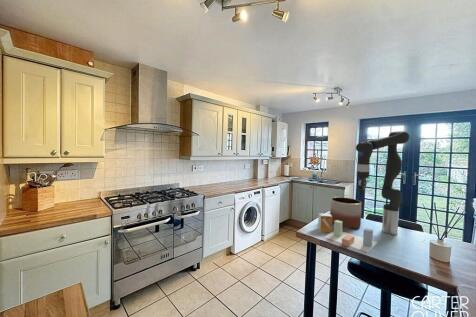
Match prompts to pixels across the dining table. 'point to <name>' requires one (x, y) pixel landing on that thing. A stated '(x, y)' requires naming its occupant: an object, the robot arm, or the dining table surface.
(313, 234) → the dining table surface
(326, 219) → the small box
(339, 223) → the sage block
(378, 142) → the robot arm
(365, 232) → the slate blue block
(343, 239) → the terracotta block
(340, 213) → the planter
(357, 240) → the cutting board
